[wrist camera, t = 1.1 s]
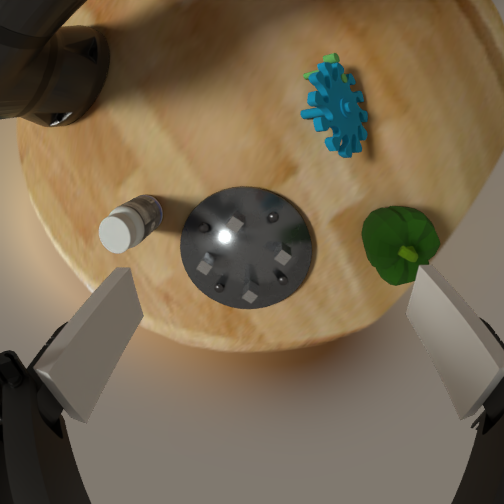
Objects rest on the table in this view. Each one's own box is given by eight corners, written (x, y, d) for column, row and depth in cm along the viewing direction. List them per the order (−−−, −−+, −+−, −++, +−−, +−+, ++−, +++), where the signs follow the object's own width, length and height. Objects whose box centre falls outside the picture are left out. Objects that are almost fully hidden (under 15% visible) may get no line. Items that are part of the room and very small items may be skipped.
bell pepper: (422, 230, 31) (463, 264, 22) (376, 269, 33) (405, 314, 24) (390, 180, 29) (433, 201, 20) (340, 223, 31) (366, 260, 22)
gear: (375, 160, 26) (325, 153, 20) (331, 160, 31) (273, 157, 25) (366, 68, 23) (313, 35, 17) (324, 77, 28) (266, 54, 22)
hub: (162, 262, 35) (153, 274, 32) (226, 159, 29) (221, 161, 26) (260, 324, 38) (259, 338, 35) (337, 239, 32) (343, 249, 29)
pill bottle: (146, 236, 34) (114, 265, 26) (124, 208, 32) (88, 230, 25) (171, 216, 32) (142, 241, 25) (148, 186, 31) (113, 203, 23)
